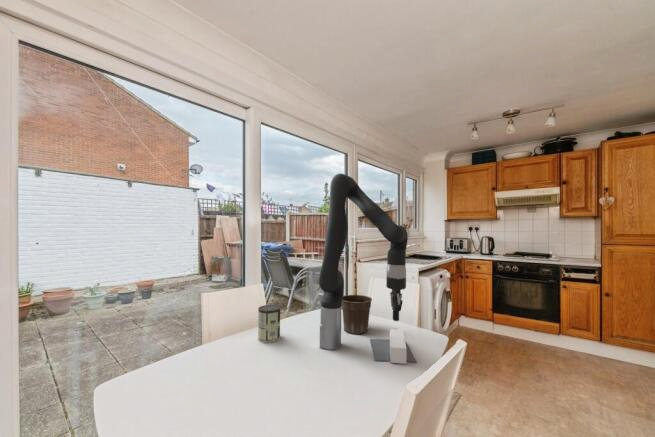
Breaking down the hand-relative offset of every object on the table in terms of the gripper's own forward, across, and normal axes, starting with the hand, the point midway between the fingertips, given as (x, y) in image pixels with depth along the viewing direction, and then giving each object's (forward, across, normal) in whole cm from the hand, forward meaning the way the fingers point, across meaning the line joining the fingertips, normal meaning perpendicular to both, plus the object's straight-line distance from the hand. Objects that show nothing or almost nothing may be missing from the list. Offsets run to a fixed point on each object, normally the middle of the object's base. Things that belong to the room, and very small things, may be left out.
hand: (395, 320), depth 111 cm
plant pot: (+16, -33, -14) cm, 39 cm away
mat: (+16, -10, 0) cm, 19 cm away
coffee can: (+16, -18, -55) cm, 60 cm away
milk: (+12, +3, +1) cm, 13 cm away
